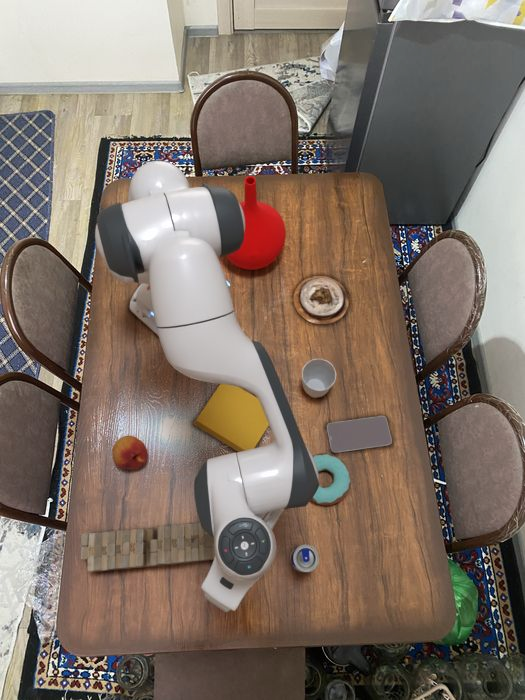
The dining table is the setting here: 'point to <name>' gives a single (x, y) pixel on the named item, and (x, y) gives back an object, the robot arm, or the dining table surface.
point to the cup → (318, 377)
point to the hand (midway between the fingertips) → (248, 550)
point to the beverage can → (304, 558)
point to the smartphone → (358, 434)
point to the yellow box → (233, 418)
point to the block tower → (146, 547)
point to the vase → (258, 232)
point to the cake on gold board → (320, 300)
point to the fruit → (129, 452)
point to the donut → (339, 479)
